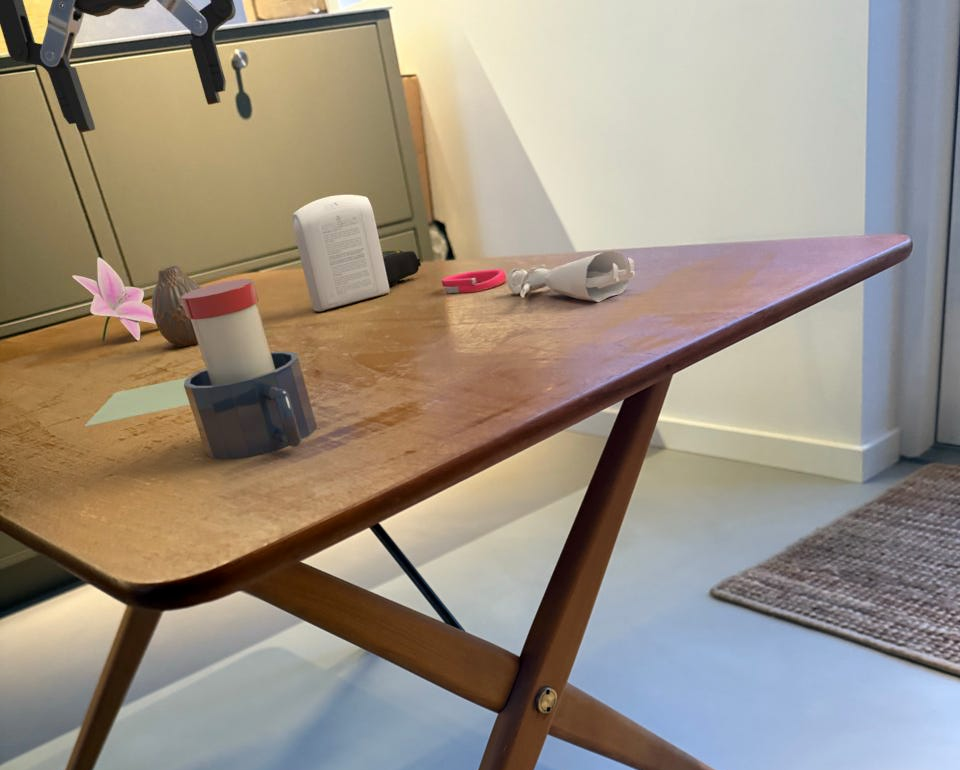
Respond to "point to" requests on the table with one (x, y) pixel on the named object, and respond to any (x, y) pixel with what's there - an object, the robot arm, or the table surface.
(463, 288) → the fitness band
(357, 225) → the white rounded block
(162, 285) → the vase
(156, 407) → the sticky note
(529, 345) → the table surface
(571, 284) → the woman figurine
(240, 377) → the jar
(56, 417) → the table surface
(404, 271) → the tape measure
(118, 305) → the lily
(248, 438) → the mug
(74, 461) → the table surface
